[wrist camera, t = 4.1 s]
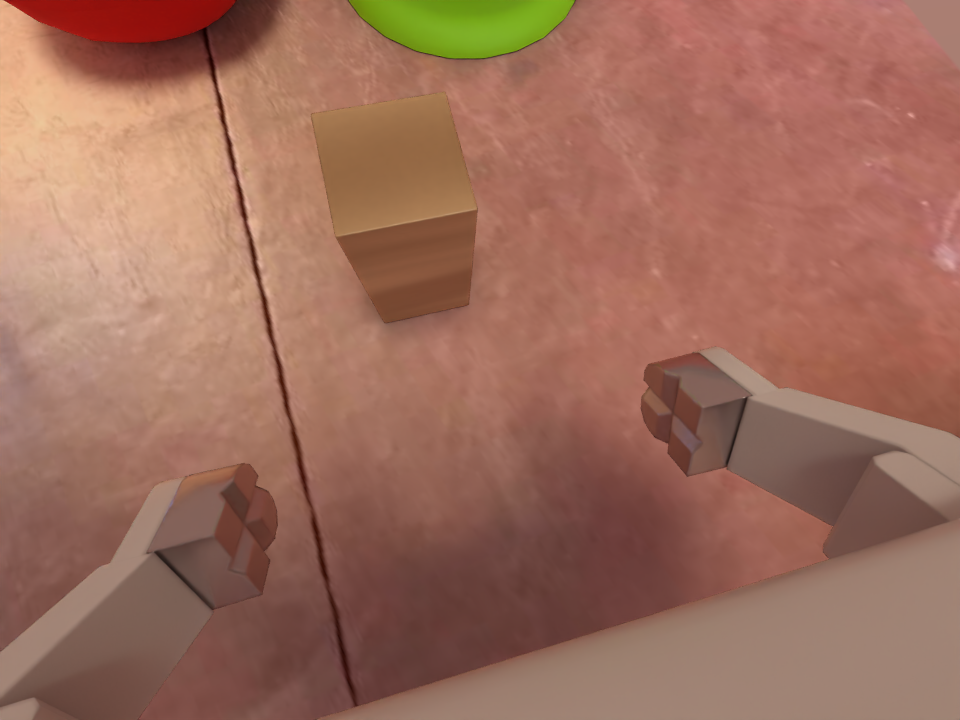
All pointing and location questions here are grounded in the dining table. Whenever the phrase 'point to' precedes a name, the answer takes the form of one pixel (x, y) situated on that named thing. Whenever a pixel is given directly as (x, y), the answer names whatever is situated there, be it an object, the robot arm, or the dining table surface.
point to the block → (401, 202)
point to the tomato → (126, 17)
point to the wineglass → (463, 24)
